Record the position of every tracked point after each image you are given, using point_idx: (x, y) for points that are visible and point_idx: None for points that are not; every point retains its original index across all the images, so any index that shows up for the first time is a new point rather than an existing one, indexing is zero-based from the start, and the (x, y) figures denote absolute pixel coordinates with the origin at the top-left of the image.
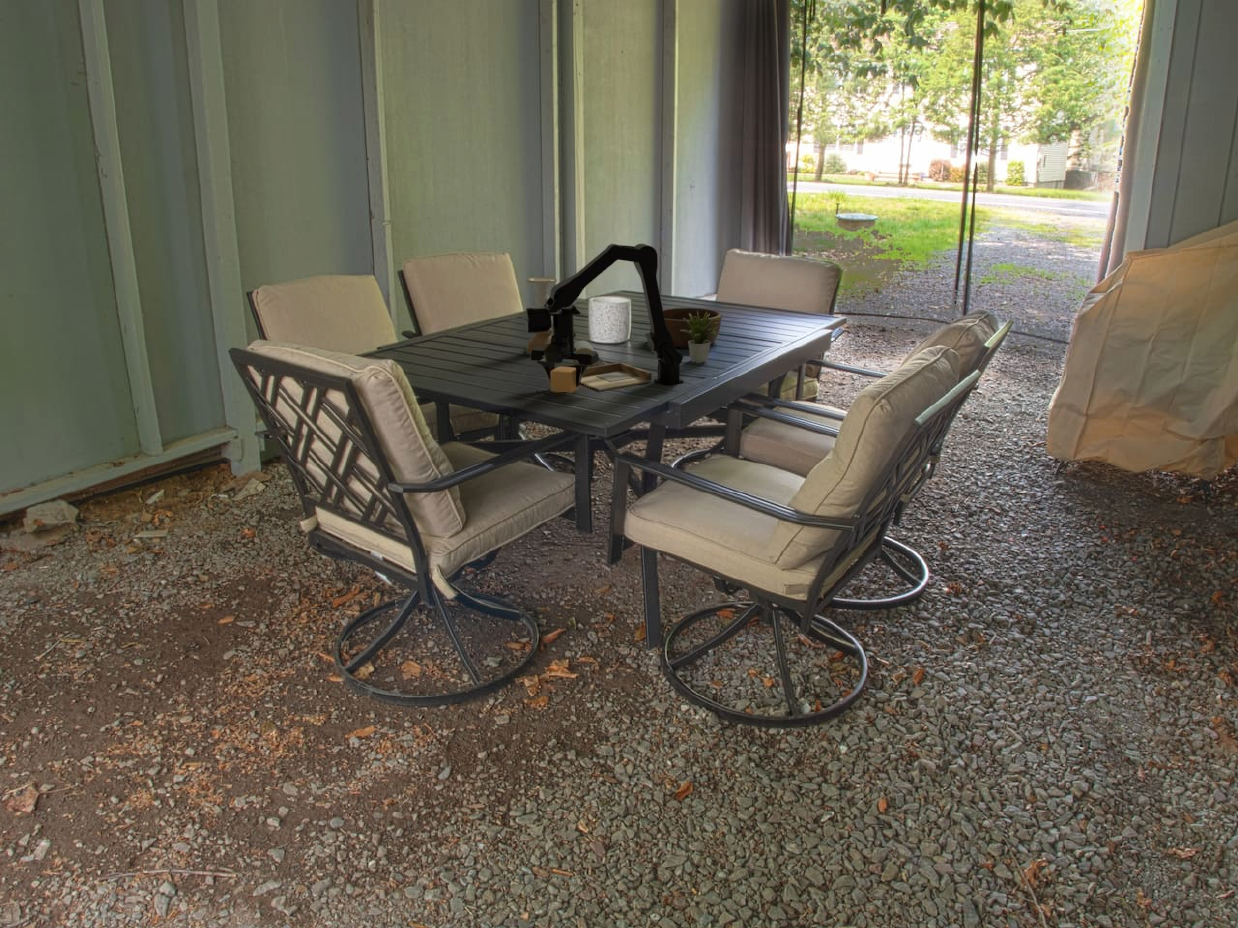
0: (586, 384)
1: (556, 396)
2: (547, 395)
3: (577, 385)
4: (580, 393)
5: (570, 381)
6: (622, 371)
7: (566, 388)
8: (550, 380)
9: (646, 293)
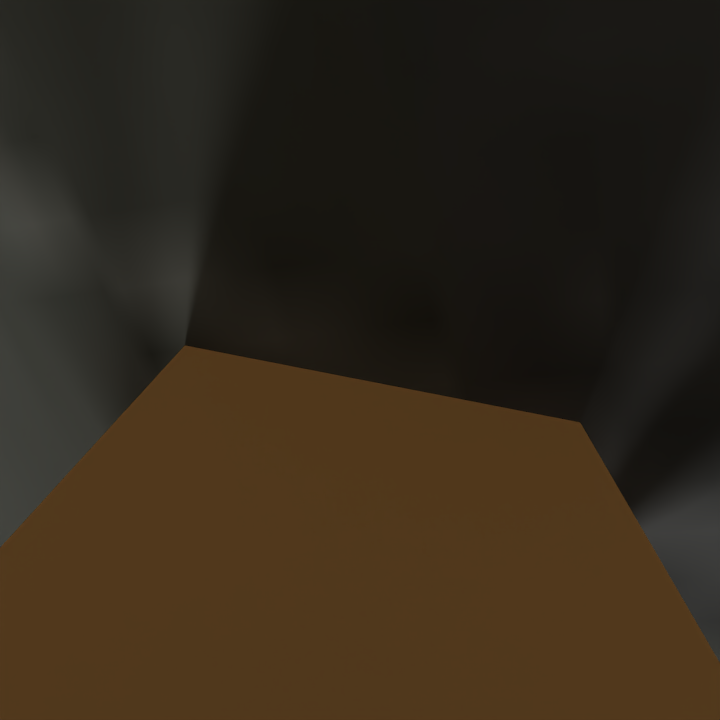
0: None
1: (405, 77)
2: (636, 135)
3: None
4: (19, 374)
5: (44, 519)
6: None
7: (237, 406)
8: None
9: None
